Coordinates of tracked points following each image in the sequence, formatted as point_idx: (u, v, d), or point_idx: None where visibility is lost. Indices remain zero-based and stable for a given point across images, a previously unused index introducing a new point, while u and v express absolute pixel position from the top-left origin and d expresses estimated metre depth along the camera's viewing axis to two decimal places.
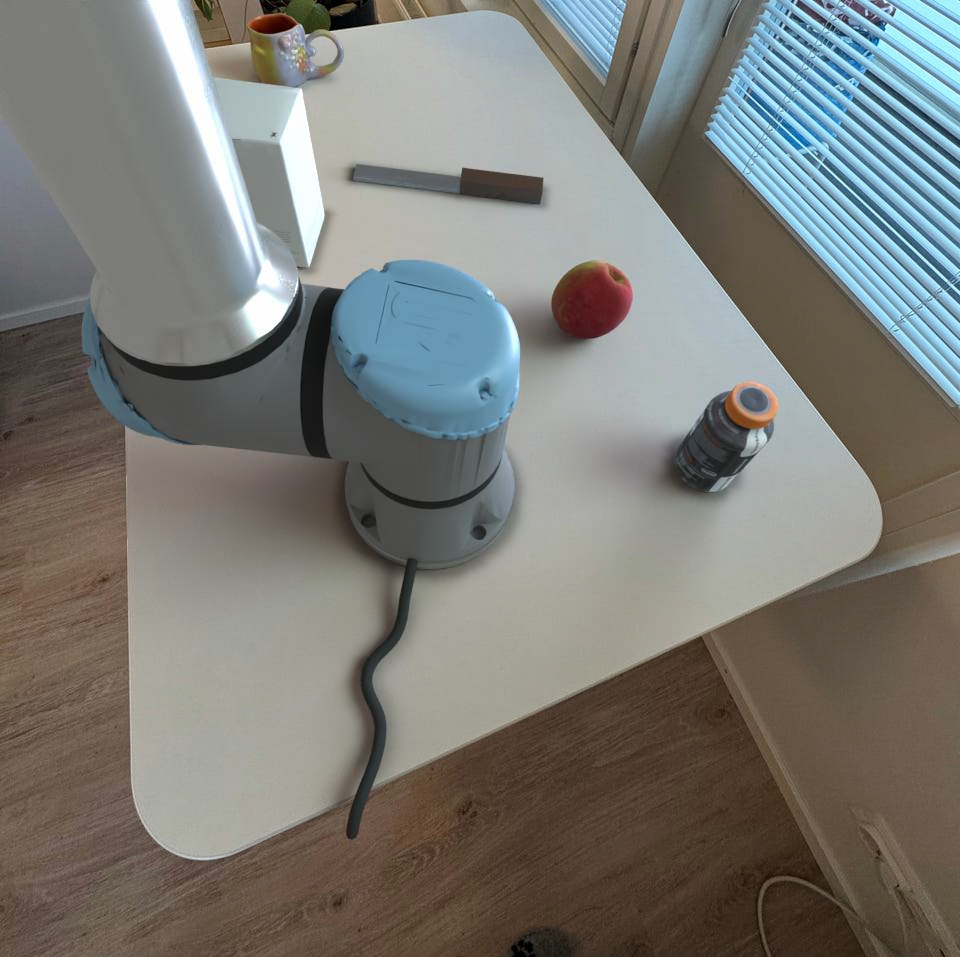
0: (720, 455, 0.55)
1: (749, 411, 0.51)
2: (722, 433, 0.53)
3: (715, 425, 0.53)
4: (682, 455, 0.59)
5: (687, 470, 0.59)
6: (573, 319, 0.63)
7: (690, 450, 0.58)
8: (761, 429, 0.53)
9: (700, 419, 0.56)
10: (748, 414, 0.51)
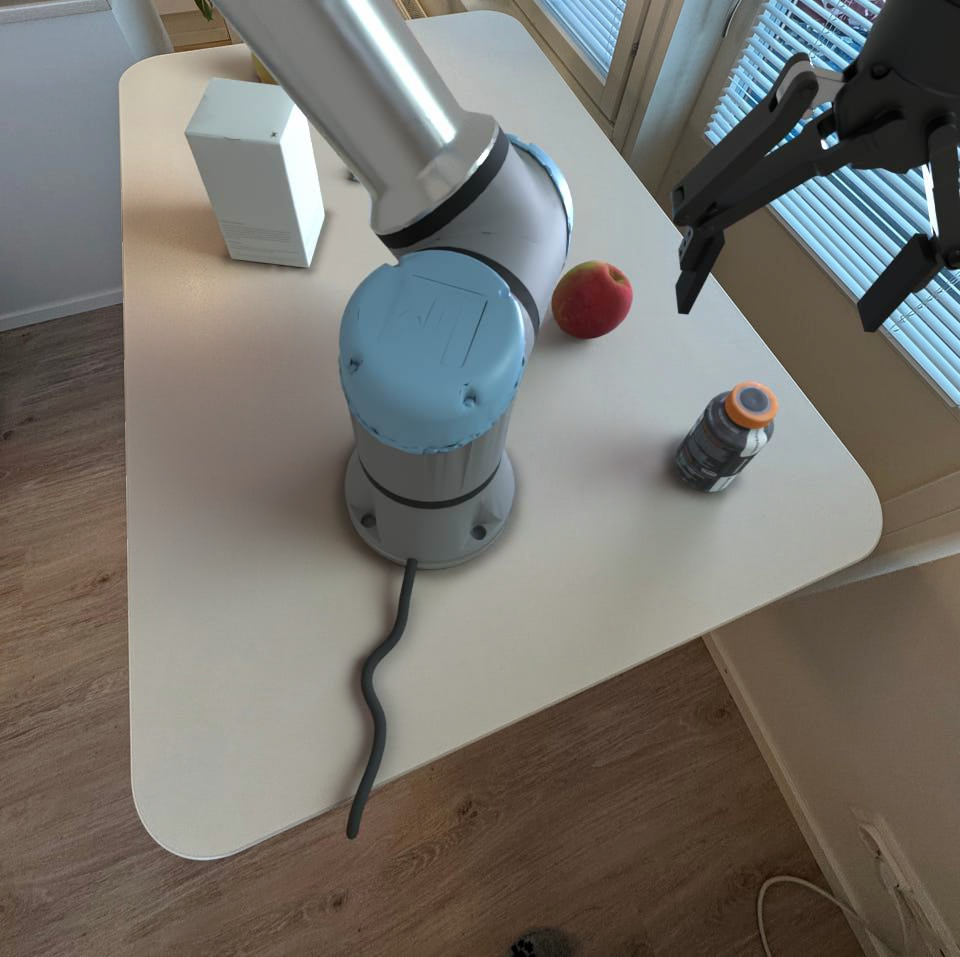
0: (720, 455, 0.55)
1: (749, 411, 0.51)
2: (722, 433, 0.53)
3: (715, 425, 0.53)
4: (682, 455, 0.59)
5: (687, 470, 0.59)
6: (573, 319, 0.63)
7: (690, 450, 0.58)
8: (761, 429, 0.53)
9: (700, 419, 0.56)
10: (748, 414, 0.51)
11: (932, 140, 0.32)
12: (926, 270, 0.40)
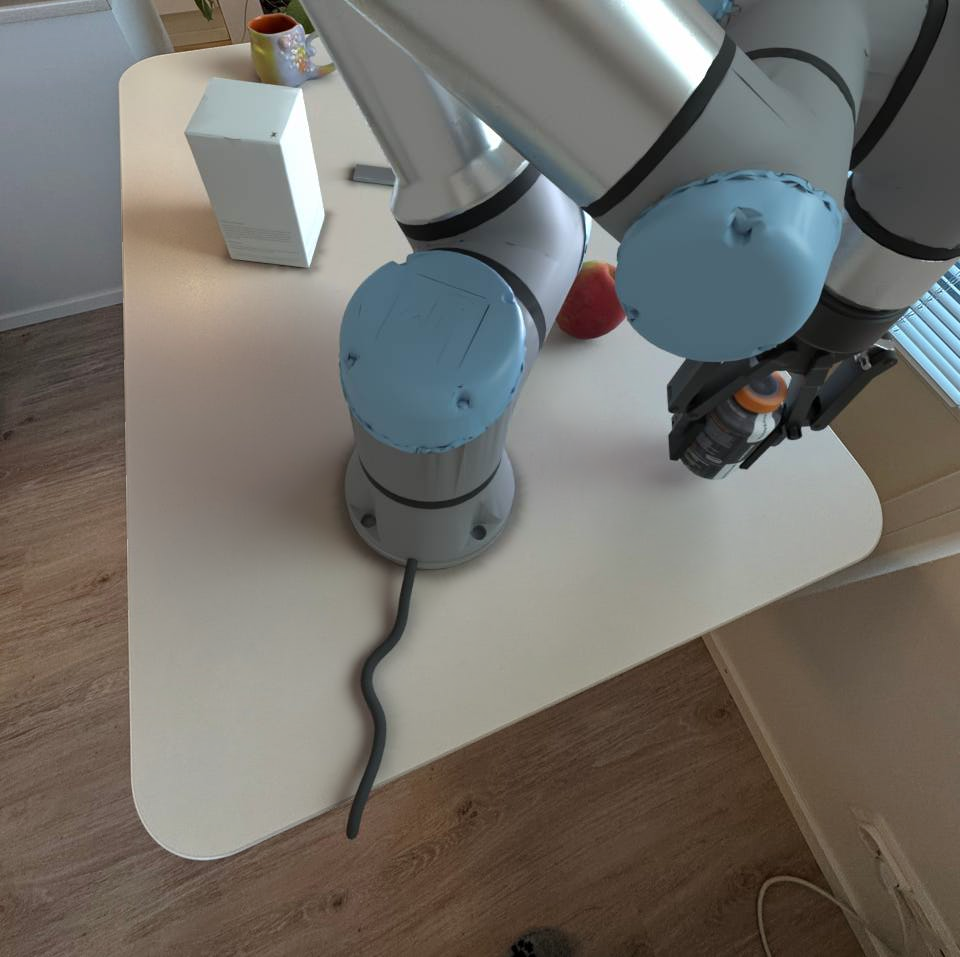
0: (726, 440, 0.53)
1: (757, 395, 0.49)
2: (729, 417, 0.51)
3: (722, 409, 0.52)
4: None
5: (691, 457, 0.57)
6: (573, 319, 0.63)
7: None
8: (769, 414, 0.51)
9: None
10: (757, 398, 0.49)
11: (818, 362, 0.44)
12: (775, 436, 0.54)
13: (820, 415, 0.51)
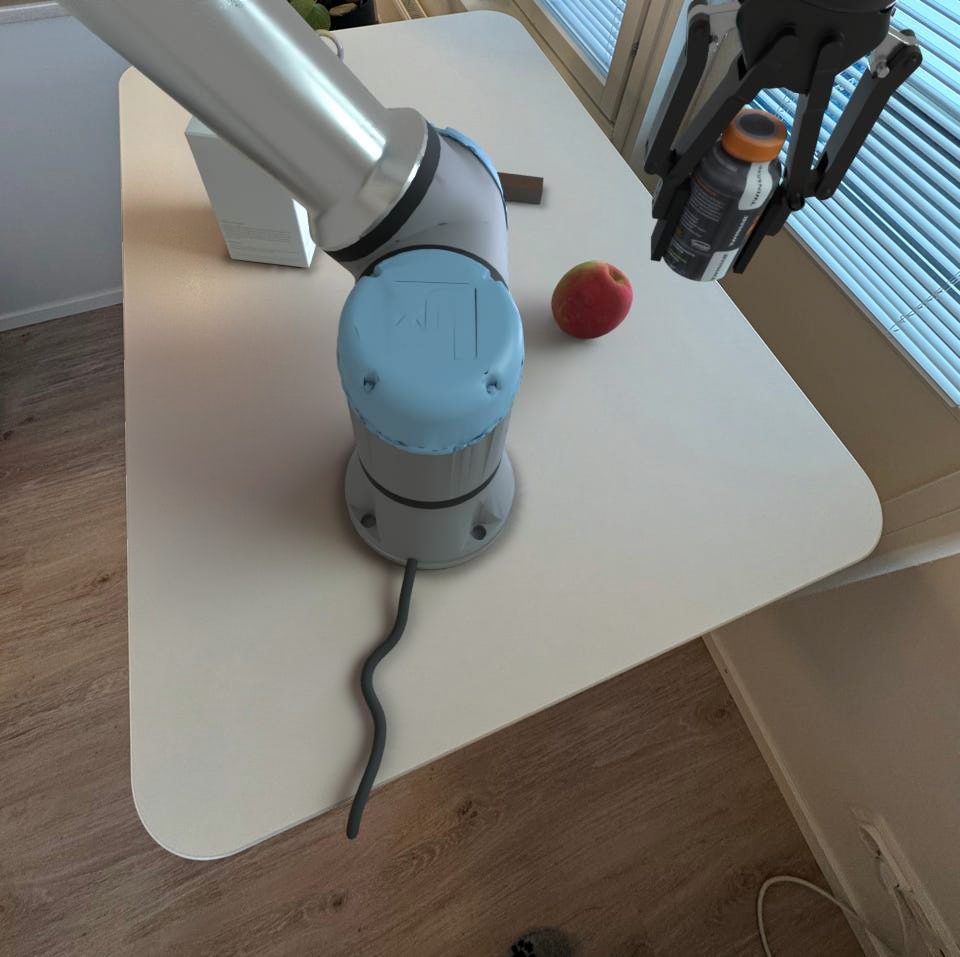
0: (714, 209, 0.44)
1: (750, 135, 0.41)
2: (716, 172, 0.43)
3: (708, 165, 0.43)
4: None
5: (675, 250, 0.49)
6: (573, 319, 0.63)
7: (678, 219, 0.47)
8: (765, 166, 0.42)
9: (691, 171, 0.46)
10: (749, 137, 0.41)
11: (822, 57, 0.36)
12: (774, 212, 0.45)
13: (827, 171, 0.42)
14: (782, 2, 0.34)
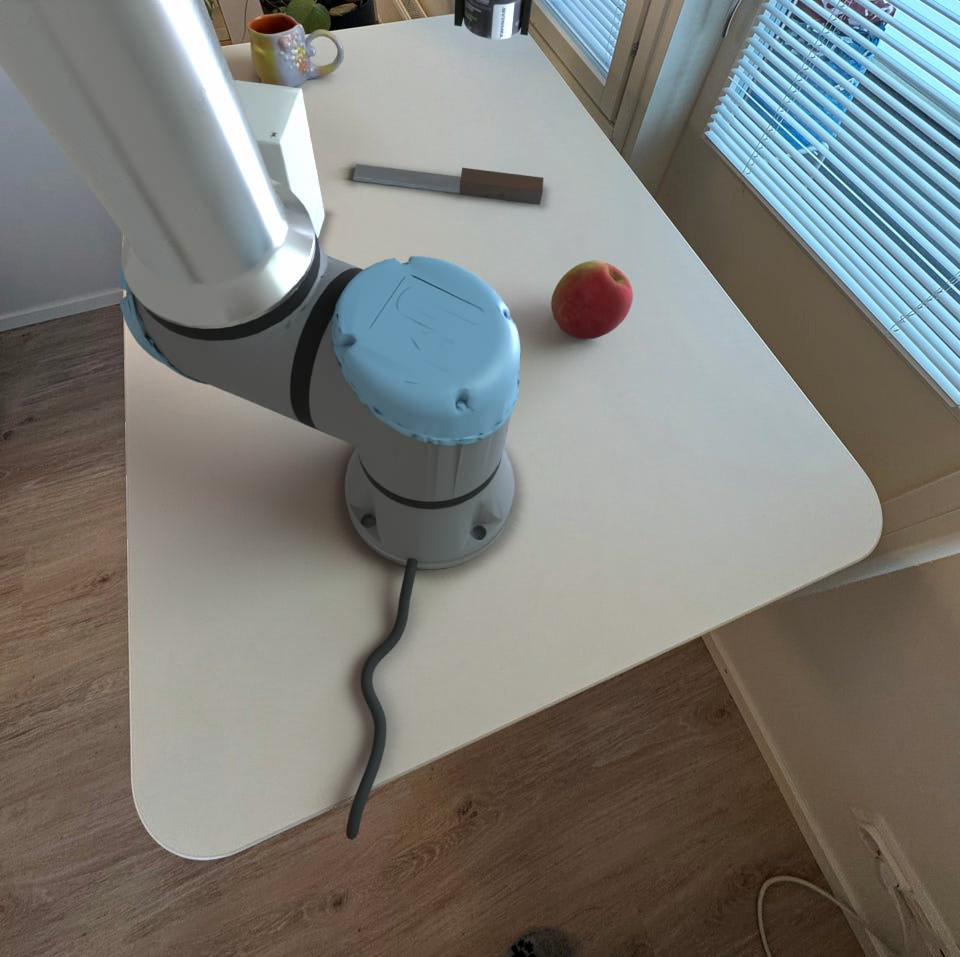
0: None
1: None
2: None
3: None
4: None
5: (468, 11, 0.62)
6: (573, 319, 0.63)
7: None
8: None
9: None
10: None
11: None
12: None
13: None
14: None
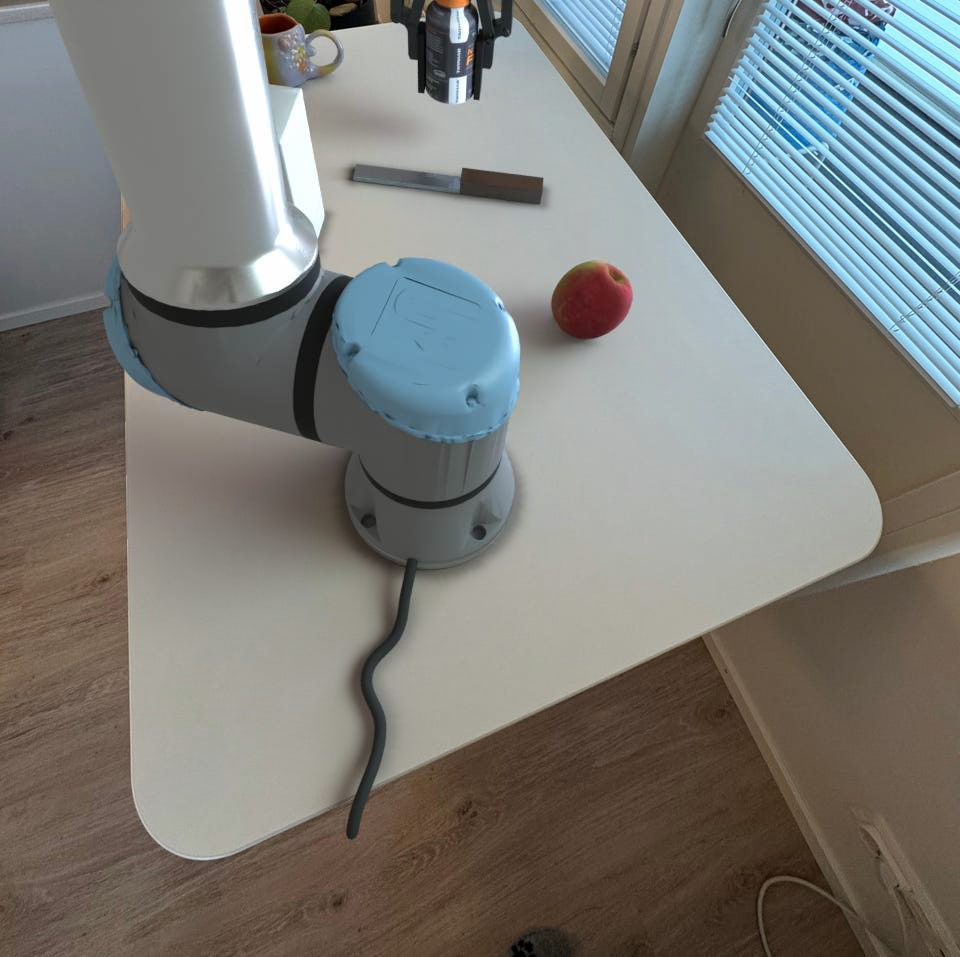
0: (438, 44, 0.70)
1: None
2: (432, 17, 0.68)
3: (428, 13, 0.68)
4: (425, 70, 0.74)
5: (429, 81, 0.74)
6: (573, 319, 0.63)
7: (425, 58, 0.73)
8: (461, 11, 0.68)
9: None
10: None
11: None
12: (480, 47, 0.71)
13: (501, 14, 0.68)
14: None
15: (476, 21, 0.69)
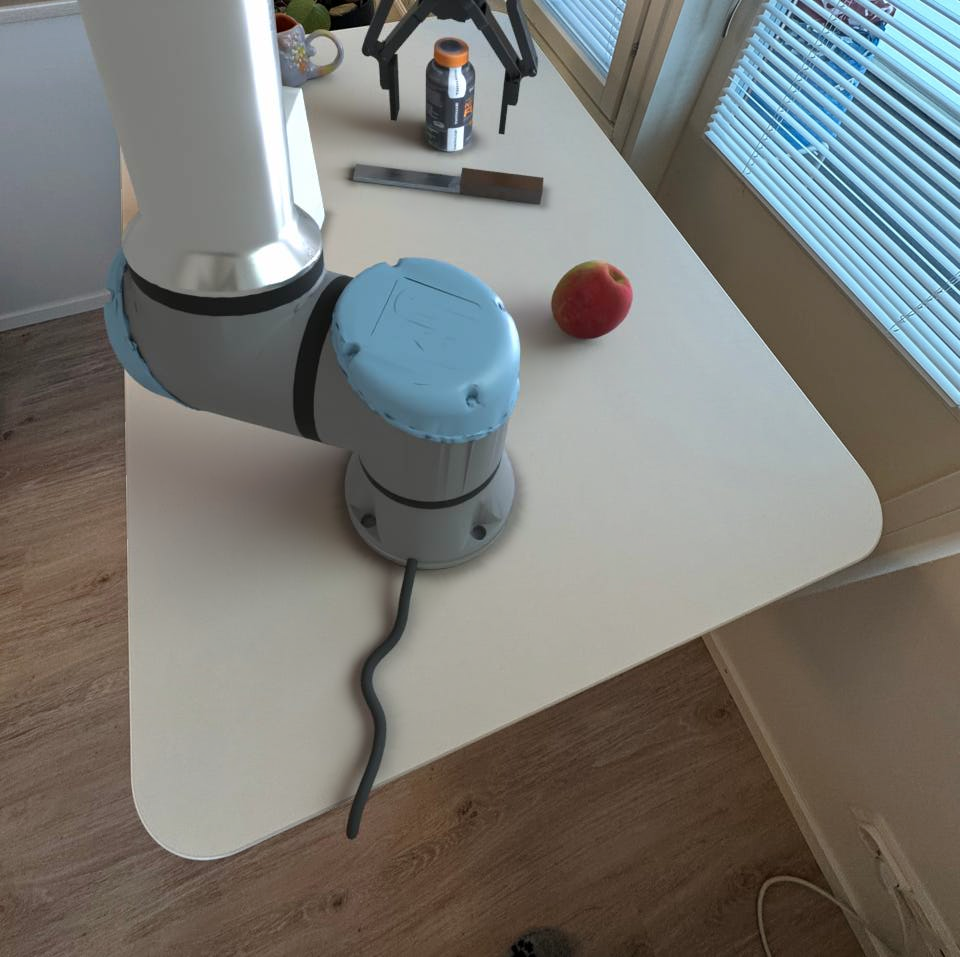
0: (437, 99, 0.75)
1: (444, 51, 0.72)
2: (432, 75, 0.73)
3: (428, 71, 0.74)
4: None
5: (428, 130, 0.79)
6: (573, 319, 0.63)
7: (426, 109, 0.78)
8: (458, 70, 0.73)
9: None
10: (443, 52, 0.71)
11: None
12: (507, 86, 0.74)
13: (522, 59, 0.72)
14: None
15: (473, 78, 0.74)
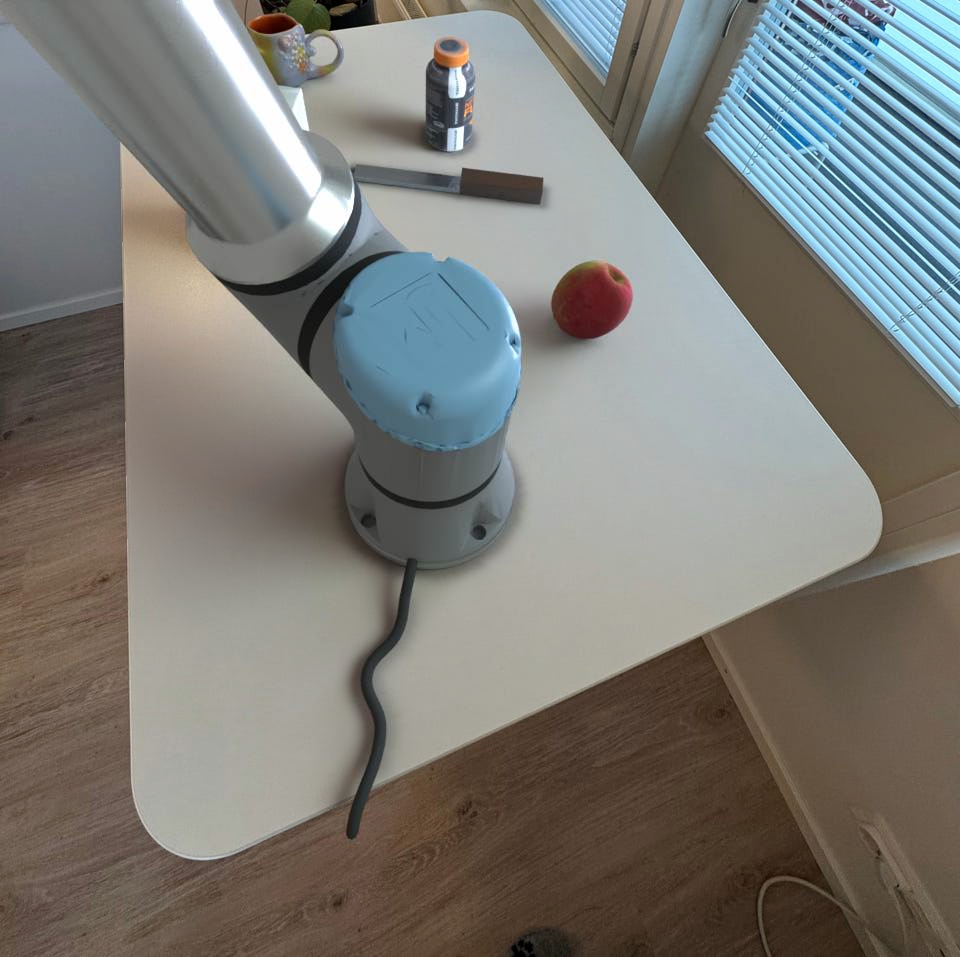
0: (437, 99, 0.75)
1: (444, 51, 0.72)
2: (432, 75, 0.73)
3: (428, 71, 0.74)
4: None
5: (428, 130, 0.79)
6: (573, 319, 0.63)
7: (426, 109, 0.78)
8: (458, 70, 0.73)
9: None
10: (443, 52, 0.71)
11: None
12: None
13: None
14: None
15: (473, 78, 0.74)
